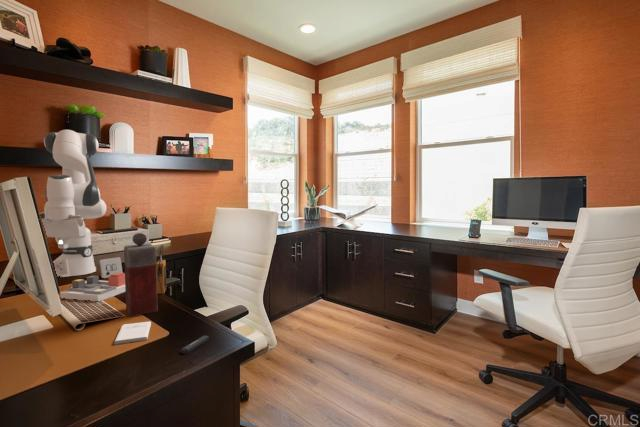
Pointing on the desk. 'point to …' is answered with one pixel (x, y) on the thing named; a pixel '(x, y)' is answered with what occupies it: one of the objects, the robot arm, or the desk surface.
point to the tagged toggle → (78, 283)
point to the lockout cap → (116, 279)
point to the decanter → (140, 277)
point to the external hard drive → (133, 332)
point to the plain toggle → (92, 279)
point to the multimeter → (161, 274)
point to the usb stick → (194, 345)
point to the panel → (93, 292)
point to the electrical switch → (110, 266)
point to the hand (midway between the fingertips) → (63, 248)
